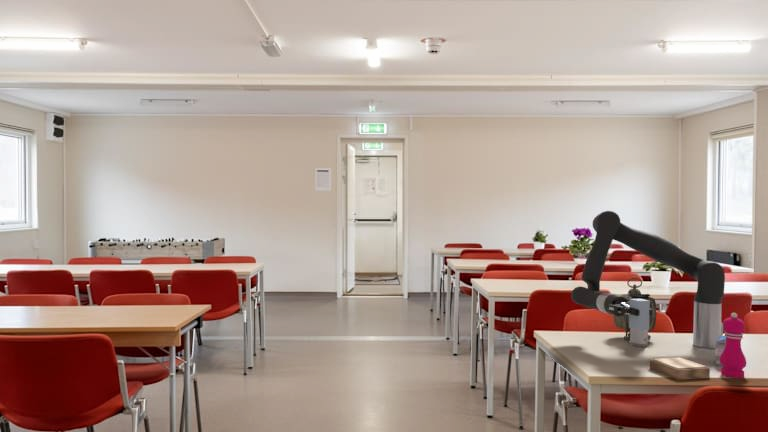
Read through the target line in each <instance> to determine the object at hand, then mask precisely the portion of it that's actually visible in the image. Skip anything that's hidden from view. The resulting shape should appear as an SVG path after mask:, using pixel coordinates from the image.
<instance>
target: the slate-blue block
mask: <svg viewBox="0 0 768 432" xmlns="http://www.w3.org/2000/svg"><path fill="white" fill-rule="evenodd" d="M629 307H631V308H635V309H639V311H640V315H639V316H635V315H631V314H629V328H632V329H635V330H649V309H650V301H649V300H645V299H629Z"/></svg>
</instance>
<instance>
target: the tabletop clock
mask: <svg viewBox="0 0 768 432" xmlns="http://www.w3.org/2000/svg"><path fill="white" fill-rule="evenodd" d="M633 280H638V281H639V282H640V284H639V285H636V284H633V286H632V285H630V282H631V281H633ZM642 285H643V281H642V279H641V278H640V277H631V278H629V279H628V280H627V286H628V287H629V288H631V289H629V290H628V292H627V293H625V294H618V295H619V296H623V297H625V298H626V299H627V301H628V302H629V299H631V296H632V295H636V294H642V292H641V290H640V289H639V288H640V287H642ZM649 301H650V309H652V315H650V316H649V330H648V332H651V331H653V330H654V329H655V326H656V322H657V304H656V300H655V298H653V297H651V296H649ZM612 316H613V323H614V326H615V327H616V328H619V329H622V330H624V332H625V335H624V336H623V340H625V341H627V340H629V338H630V328H629V315H628V314H625V315H623V316H620V317H619V316H614V315H612ZM651 339H652V337H651V335H650V334H648V340H651Z"/></svg>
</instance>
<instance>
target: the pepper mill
mask: <svg viewBox="0 0 768 432" xmlns="http://www.w3.org/2000/svg"><path fill="white" fill-rule="evenodd" d="M722 323H723V330H724V331H723V336H725V337H726V346H725V348H724V350H723V352H722V354H721V356H720V363H721V364H722V366H721V369H720V373H721V374H720V375H722V376H724V375H725V377H729V378H733V377H735V379H743V378H744V377H745V371H744V370H743V369H744V368H745V367H746V366H747V358H746V356H745V354H744V352H743V350H742V345H741V344H742V340H743V339H744V338H743V335H744V334H743V332H744V331H745V330H746V324H745V322H744V321H743V320H742V319H741V318H738V314H737V313H736V312H732V313H731V314H730V317H727V318H725V319H724V320H723V321H722ZM742 377H743V378H742Z"/></svg>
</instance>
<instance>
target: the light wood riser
mask: <svg viewBox="0 0 768 432" xmlns="http://www.w3.org/2000/svg"><path fill="white" fill-rule="evenodd" d="M649 370H652V371H654V372H657V373H660V374H662V375H664V376H666V375H667V377H669V376H670V377H669V378H672V379H674V380H677V381H681V380H697V379H710V373H711V370H710V367H708V366H706V365H703V364H700V363H697V362H695V361H692V360H689V359H686V358H684V357H683V358H682V357H679V356H678V357H666V358H665V357H662V358H652V359H649Z"/></svg>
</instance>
